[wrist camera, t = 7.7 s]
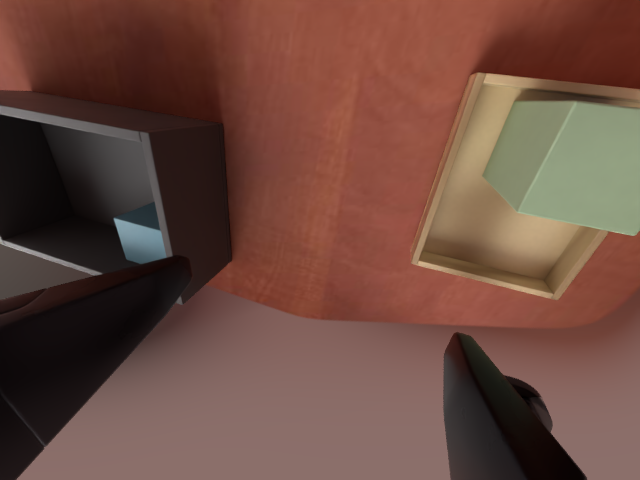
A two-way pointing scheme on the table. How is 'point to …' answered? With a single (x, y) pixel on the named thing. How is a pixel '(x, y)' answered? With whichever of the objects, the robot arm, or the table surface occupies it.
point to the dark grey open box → (110, 182)
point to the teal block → (141, 234)
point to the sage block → (570, 163)
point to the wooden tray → (491, 208)
